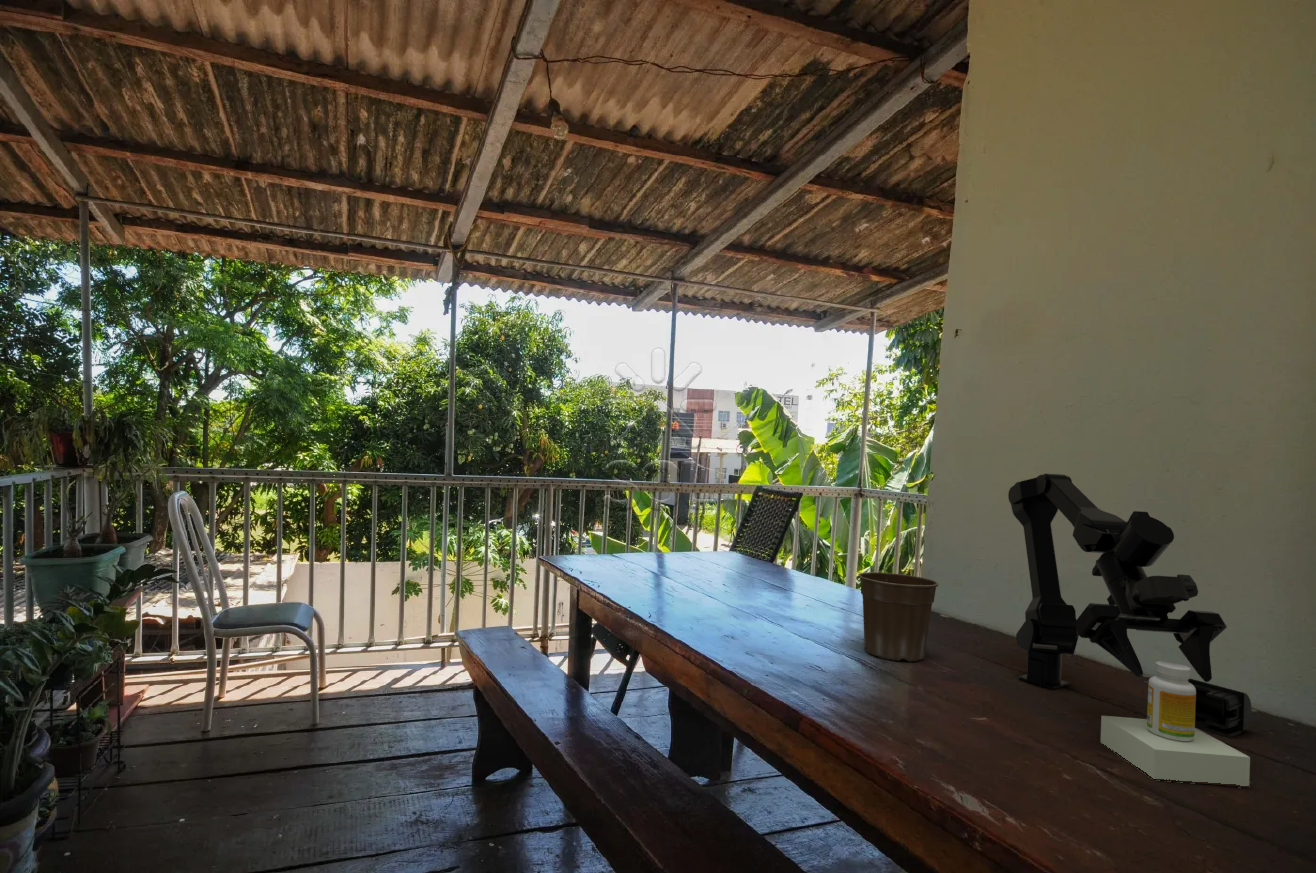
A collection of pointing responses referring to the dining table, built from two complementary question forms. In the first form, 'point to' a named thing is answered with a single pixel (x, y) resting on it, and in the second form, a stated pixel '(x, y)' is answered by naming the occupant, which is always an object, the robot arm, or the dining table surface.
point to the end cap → (1221, 709)
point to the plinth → (1175, 753)
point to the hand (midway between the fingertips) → (1174, 677)
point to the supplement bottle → (1171, 702)
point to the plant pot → (896, 614)
